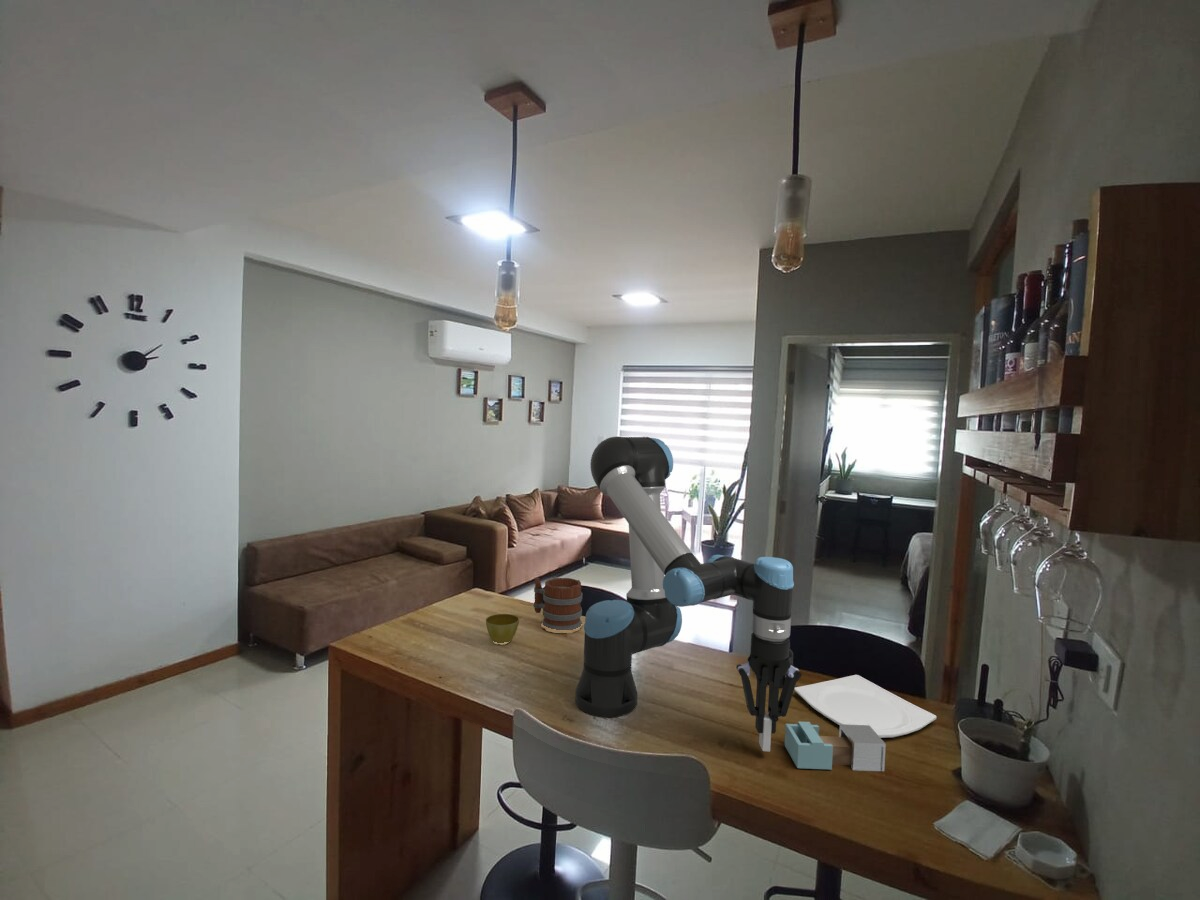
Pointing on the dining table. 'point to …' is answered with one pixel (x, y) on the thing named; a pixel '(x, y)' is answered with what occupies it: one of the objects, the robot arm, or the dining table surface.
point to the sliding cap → (807, 746)
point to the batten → (839, 749)
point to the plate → (865, 706)
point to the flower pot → (502, 627)
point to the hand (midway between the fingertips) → (764, 747)
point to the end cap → (864, 747)
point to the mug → (559, 603)
